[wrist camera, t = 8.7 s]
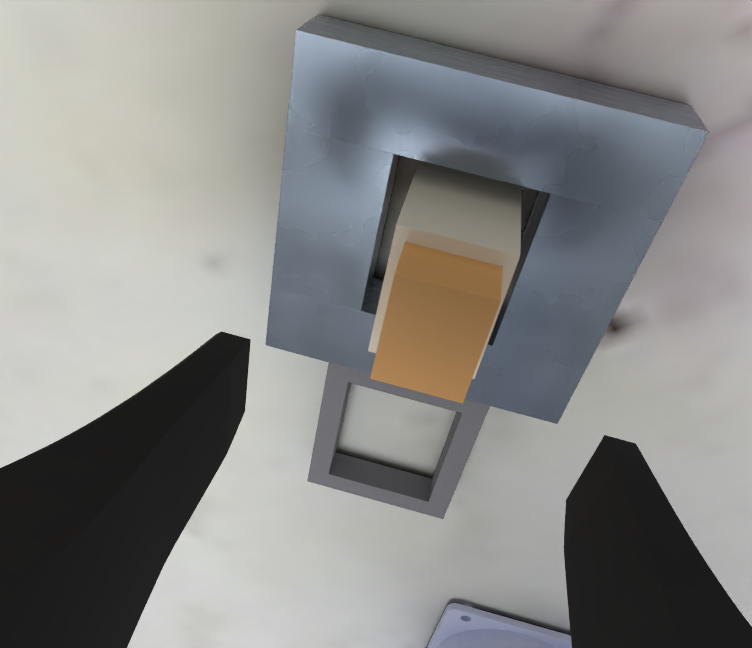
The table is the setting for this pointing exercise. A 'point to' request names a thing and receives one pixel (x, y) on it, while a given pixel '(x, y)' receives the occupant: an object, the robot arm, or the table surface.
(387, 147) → the port block
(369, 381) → the grey mounting plate
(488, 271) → the plug
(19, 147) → the table surface
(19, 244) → the table surface
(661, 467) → the table surface
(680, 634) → the robot arm
